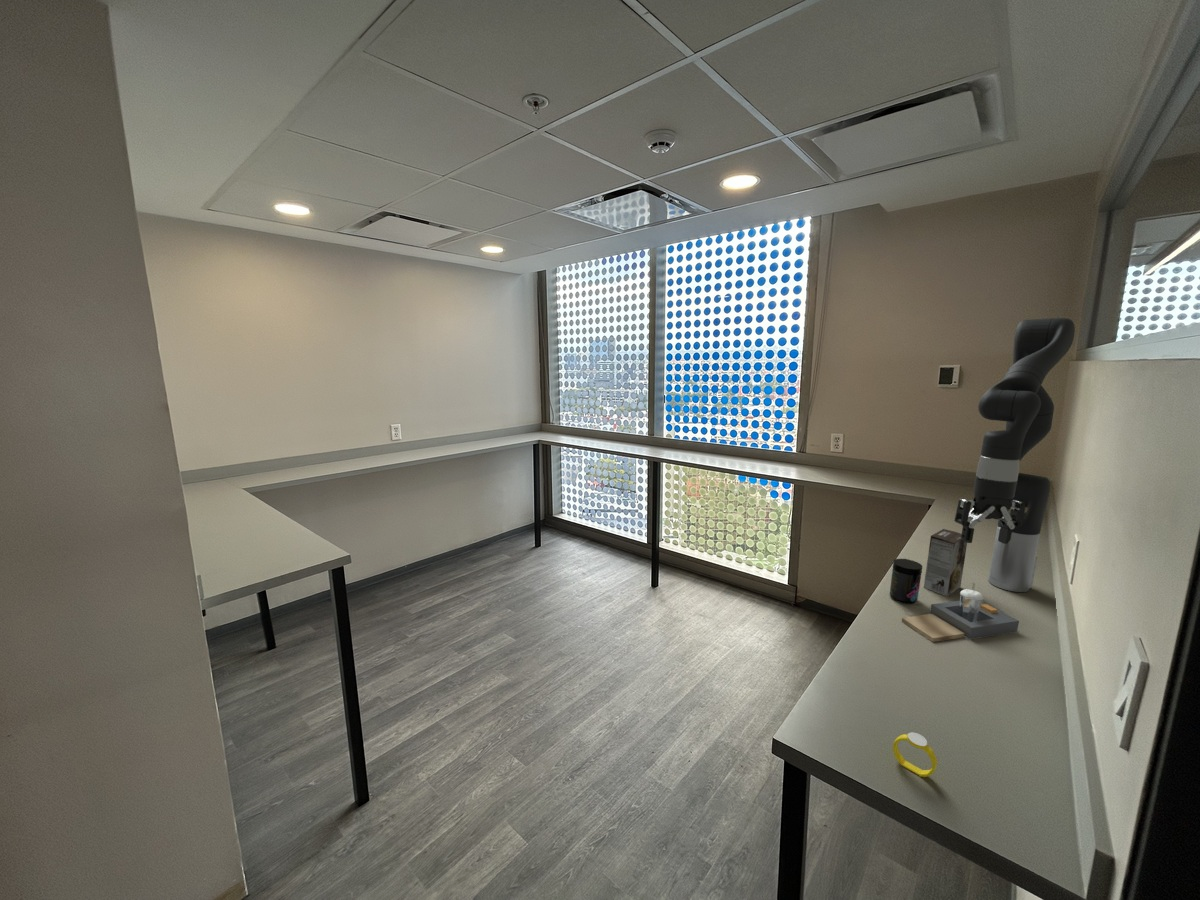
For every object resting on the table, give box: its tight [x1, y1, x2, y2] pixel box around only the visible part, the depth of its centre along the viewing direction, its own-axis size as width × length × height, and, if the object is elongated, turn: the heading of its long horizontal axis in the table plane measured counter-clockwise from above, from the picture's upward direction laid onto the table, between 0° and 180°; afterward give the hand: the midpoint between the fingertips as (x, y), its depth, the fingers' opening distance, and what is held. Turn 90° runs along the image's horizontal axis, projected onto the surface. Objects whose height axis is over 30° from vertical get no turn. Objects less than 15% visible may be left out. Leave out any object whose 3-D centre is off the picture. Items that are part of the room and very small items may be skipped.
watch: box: [892, 731, 938, 778], centre depth 78 cm, size 6×3×6 cm, turn 40°
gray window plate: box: [929, 600, 1020, 640], centre depth 120 cm, size 14×11×4 cm
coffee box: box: [923, 528, 968, 597], centre depth 137 cm, size 9×6×16 cm
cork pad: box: [901, 613, 965, 643], centre depth 118 cm, size 9×9×1 cm
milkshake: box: [959, 582, 984, 622], centre depth 119 cm, size 4×5×10 cm
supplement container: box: [889, 558, 923, 605], centre depth 132 cm, size 7×7×10 cm
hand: (984, 542), depth 115 cm, fingers open, 8 cm apart
